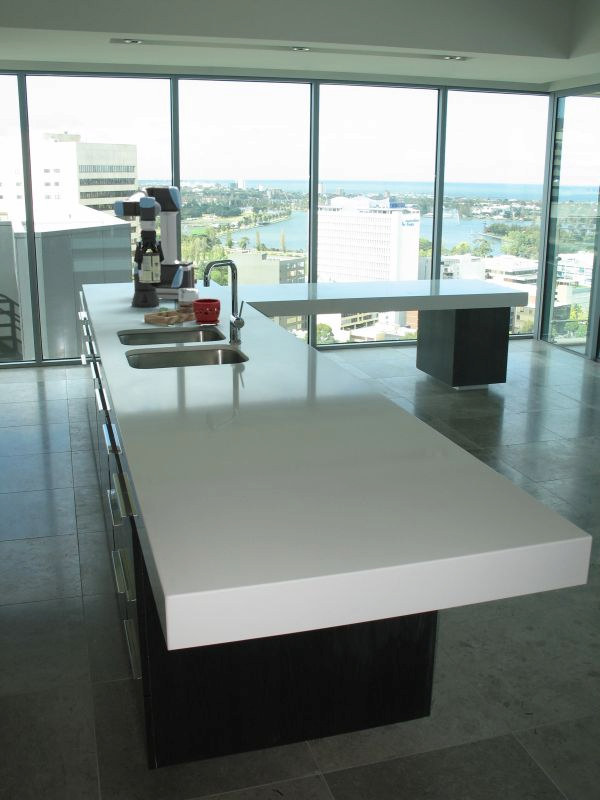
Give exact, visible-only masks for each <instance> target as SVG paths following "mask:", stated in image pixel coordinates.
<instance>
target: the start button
mask: <svg viewBox="0 0 600 800" xmlns="http://www.w3.org/2000/svg"><path fill="white" fill-rule="evenodd" d="M160 310H161V312H164V311H169V310H170V307H169V306H161V307H160Z"/></svg>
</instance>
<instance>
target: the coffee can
mask: <svg viewBox="0 0 600 800" xmlns="http://www.w3.org/2000/svg"><path fill="white" fill-rule="evenodd" d="M159 254H160V253H153V252H152V251H146V253H145V254H142V253H140V255H143V261H142V263H143V274H144V277H139V278H140V281H139V282H142V283H156V282H160V257H159Z"/></svg>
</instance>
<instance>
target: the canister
mask: <svg viewBox="0 0 600 800" xmlns="http://www.w3.org/2000/svg"><path fill="white" fill-rule="evenodd" d="M198 299H199V288H196V287H195V288H181V289H178V300H177V301H178V302H177V306H178V309H179V312H180V313H186V314H191V313H194V308H193V301H195V300H198Z"/></svg>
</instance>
